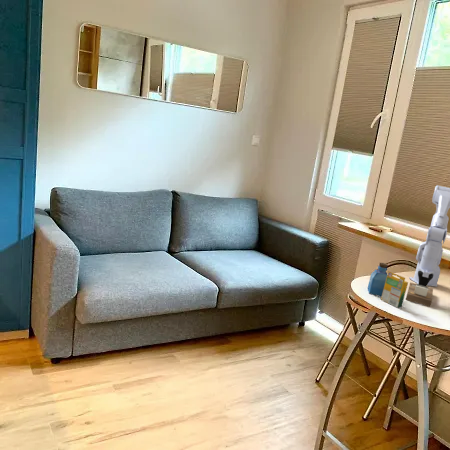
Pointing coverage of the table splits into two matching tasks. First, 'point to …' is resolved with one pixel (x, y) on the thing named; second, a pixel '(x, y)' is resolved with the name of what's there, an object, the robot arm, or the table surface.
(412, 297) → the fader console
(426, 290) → the fader knob
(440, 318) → the table surface
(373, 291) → the perfume bottle
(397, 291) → the crayon box
